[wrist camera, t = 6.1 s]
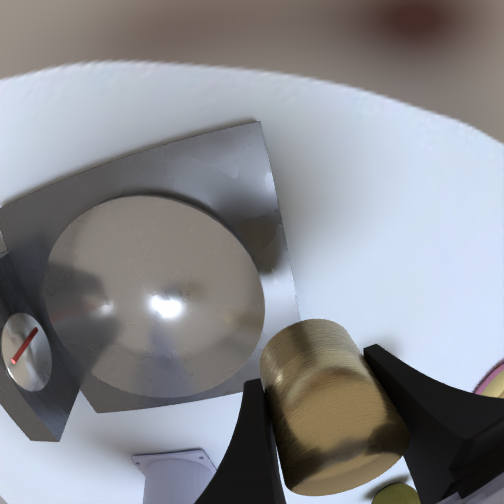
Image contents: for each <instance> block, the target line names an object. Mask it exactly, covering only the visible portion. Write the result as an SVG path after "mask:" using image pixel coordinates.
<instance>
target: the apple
mask: <svg viewBox="0 0 504 504" xmlns="http://www.w3.org/2000/svg"><path fill="white" fill-rule="evenodd" d="M371 504H421V503H420V500H419V497H418V493H417V492H416V490H415V489H414V488H412V487H411V486H409V485H407V484H404V483H395V484H392V485H389V486H387V487H386V488H384V489H383V490H381V491H380V492H379V493H378V494H377V495H376V496H375V497H374V499H373V501H372V503H371Z"/></svg>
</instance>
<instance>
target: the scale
mask: <svg viewBox="0 0 504 504" xmlns="http://www.w3.org/2000/svg"><path fill="white" fill-rule="evenodd" d="M139 194H146V195H160V196H165V197H171V198H175V199H178V200H181V201H184V202H187V203H190V204H192V205H194V206H196V207H198V208H200V209H203V210H205V211H206V212H208V213H209V214H211V215H212V216H214V217H215V218H217V219H218V220H220V221H221V222H222V223H223V224H224V225H225V226H227V227H228V228H229V229H230V230H231V231H232V232H233V233H234V234H235V235H236V237H237V238H238V239H239V240H240V241H241V242H242V244H243V245H244V247H245V248H246V250H247V251H248V253H249V254H250V256H251V258H252V260H253V262H254V264H255V266H256V268H257V271H258V274H259V277H260V281H261V284H262V287H263V292H264V299H265V319H264V326H263V330H262V333H261V336H260V340H259V342H258V344H257V346H256V348H255V350H254V352H253V353H252V355H251V356H250V358H249V359H248V361H247V362H246V363H245V364H244V365H243V366H242V367H241V369H240V370H239V371H237V372H236V373H235V374H234V375H233V376H231V377H230V378H229V379H227V380H226V381H224V382H223V383H221V384H219V385H217V386H215V387H213V388H211V389H209V390H206V391H203V392H200V393H198V394H193V395H189V396H183V397H175V398H157V397H147V396H142V395H137V394H133V393H130V392H127V391H123V390H121V389H119V388H116V387H114V386H111V385H110V384H108V383H106V382H104V381H102V380H100V379H99V378H97V377H96V376H94V375H93V374H91V373H90V372H89V371H87V370H86V369H85V368H84V367H83V366H81V365H80V364H79V363H78V362H77V361H76V360H75V359H74V358H73V357H72V356H71V354H70V353H69V352H68V351H67V349H66V348H65V347H64V346H63V344H62V342H61V341H60V339H59V338H58V336H57V334H56V332H55V330H54V328H53V326H52V324H51V321H50V318H49V315H48V312H47V308H46V302H45V295H44V278H45V270H46V266H47V262H48V258H49V256H50V253H51V251H52V248H53V246H54V245H55V243H56V241H57V240H58V238H59V236H60V235H61V234H62V233H63V231H64V230H65V229H66V228H67V227H68V226H69V225H70V224H71V223H72V222H73V221H74V220H75V219H77V218H78V217H79V216H80V215H82V214H83V213H85V212H86V211H88V210H90V209H91V208H93V207H95V206H96V205H98V204H101V203H103V202H106V201H108V200H111V199H115V198H119V197H123V196H129V195H139ZM0 229H1V232H2V235H3V238H4V241H5V243H6V246H7V249H8V250H7V251H5V252H2V253H0V404H1V405H2V407H3V408H4V409H5V411H6V412H7V413H8V414H9V416H10V417H11V418H12V419H13V420H14V422H15V423H16V424H17V425H18V426H19V428H20V429H21V430H22V431H23V432H24V433H25V435H26V436H27V437H28V438H29V439H30V440H31V441H48V442H59V441H60V439H61V436H62V433H63V430H64V428H65V425H66V422H67V420H68V417H69V414H70V412H71V409H72V407H73V404H74V402H75V399H76V397H77V394H78V392H79V389H80V390H81V391H82V393H83V394H84V396H85V397H86V398H87V400H88V401H89V403H90V404H91V406H92V407H93V408H94V410H95V411H96V412H97V413H107V412H118V411H128V410H137V409H146V408H153V407H161V406H168V405H174V404H181V403H187V402H193V401H199V400H204V399H210V398H215V397H220V396H225V395H230V394H234V393H239V392H243V388H244V383H245V381H248V380H253V379H257V378H260V379H261V382H262V378H261V373H260V369H259V361H260V356H261V353H262V351H263V349H264V347H265V346H266V344H267V343H268V342H269V341H270V339H271V338H272V337H273V336H274V335H276V334H277V333H278V332H279V331H281V330H282V329H284V328H286V327H287V326H290V325H292V324H294V323H297V322H300V321H301V320H300V315H299V309H298V303H297V298H296V292H295V287H294V282H293V276H292V271H291V266H290V260H289V255H288V250H287V245H286V240H285V235H284V230H283V225H282V220H281V215H280V210H279V205H278V200H277V195H276V191H275V186H274V181H273V176H272V172H271V167H270V162H269V158H268V153H267V149H266V144H265V140H264V135H263V131H262V126H261V122H260V121H257V122H253V123H248V124H243V125H239V126H234V127H230V128H226V129H221V130H217V131H213V132H209V133H205V134H201V135H198V136H194V137H190V138H186V139H183V140H179V141H176V142H172V143H169V144H165V145H162V146H158V147H155V148H152V149H149V150H145V151H142V152H139V153H136V154H133V155H130V156H127V157H124V158H121V159H118V160H115V161H112V162H109V163H107V164H104V165H101V166H98V167H95V168H93V169H90V170H87V171H85V172H82V173H80V174H77V175H74V176H72V177H69V178H67V179H64V180H62V181H59V182H57V183H55V184H52V185H50V186H48V187H45V188H43V189H41V190H38V191H36V192H34V193H32V194H29V195H27V196H25V197H23V198H21V199H18V200H16V201H14V202H12V203H10V204H8V205H6V206H4V207H2V208H0ZM262 386H263V383H262Z"/></svg>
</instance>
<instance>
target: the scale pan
mask: <svg viewBox="0 0 504 504" xmlns="http://www.w3.org/2000/svg"><path fill="white" fill-rule="evenodd" d="M44 295H45V302H46V308H47V312H48V315H49V318H50V321H51V324H52V326H53V328H54V330H55V332H56V334H57V336H58V338H59V339H60V341H61V342H62V344H63V346H64V347H65V348H66V349H67V351H68V352H69V353H70V354H71V356H72V357H73V358H74V359H75V360H76V361H77V362H78V363H79V364H80V365H81V366H83V367H84V368H85V369H86V370H87V371H89V372H90V373H91V374H93V375H94V376H96V377H97V378H99V379H100V380H102V381H104V382H106V383H108V384H110V385H111V386H114V387H116V388H119V389H121V390H123V391H127V392H130V393H133V394H137V395H142V396H147V397H157V398H175V397H183V396H189V395H193V394H198V393H200V392H203V391H206V390H209V389H211V388H213V387H215V386H217V385H219V384H221V383H223V382H224V381H226V380H227V379H229V378H230V377H231V376H233V375H234V374H235V373H236V372H237V371H239V370H240V369H241V367H242V366H243V365H244V364H245V363H246V362H247V361H248V359H249V358H250V356H251V355H252V353H253V352H254V350H255V348H256V346H257V344H258V342H259V340H260V336H261V333H262V330H263V326H264V319H265V299H264V292H263V287H262V284H261V281H260V277H259V274H258V271H257V268H256V266H255V264H254V262H253V260H252V258H251V256H250V254H249V253H248V251H247V250H246V248H245V247H244V245H243V244H242V242H241V241H240V240H239V239H238V238H237V237H236V235H235V234H234V233H233V232H232V231H231V230H230V229H229V228H228V227H227V226H225V225H224V224H223V223H222V222H221V221H220V220H218V219H217V218H215V217H214V216H212V215H211V214H209V213H208V212H206V211H205V210H203V209H200V208H198V207H196V206H194V205H192V204H190V203H187V202H184V201H181V200H178V199H175V198H171V197H165V196H160V195H146V194H139V195H129V196H123V197H119V198H115V199H111V200H108V201H106V202H103V203H101V204H98V205H96V206H95V207H93V208H91V209H90V210H88V211H86V212H85V213H83V214H82V215H80V216H79V217H78V218H77V219H75V220H74V221H73V222H72V223H71V224H70V225H69V226H68V227H67V228H66V229H65V230H64V231H63V233H62V234H61V235H60V236H59V238H58V240H57V241H56V243H55V245H54V246H53V248H52V251H51V253H50V256H49V258H48V262H47V266H46V270H45V278H44Z"/></svg>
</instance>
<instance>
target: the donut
mask: <svg viewBox="0 0 504 504" xmlns="http://www.w3.org/2000/svg"><path fill="white" fill-rule="evenodd" d="M474 394H479V395H484V396H489V397H498V398H504V363H503V364H502V365H500V366H499V367H497V368H496V369H495V370H494V371H493V372H492V373H491V374H490V375H489V376H488V377H487V378H486V379H485V380H484V381H483V382H482V384H481V385H480V386H479V387H478V389H477V390H476V392H475V393H474Z"/></svg>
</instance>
